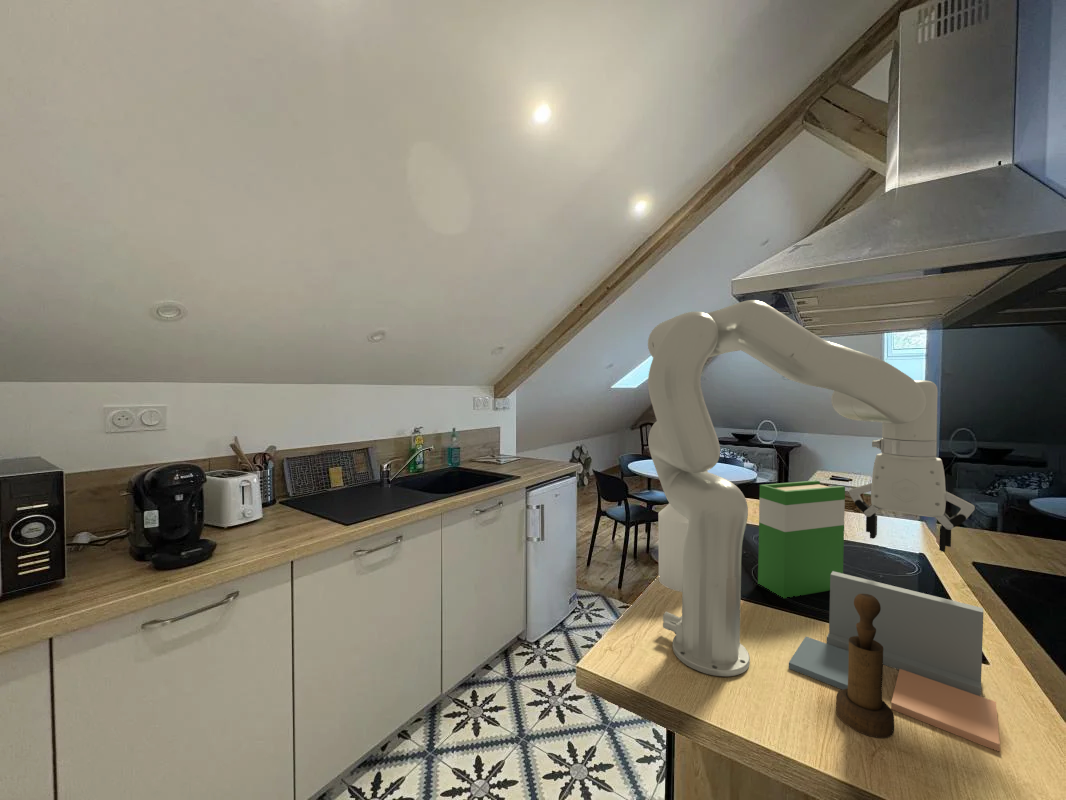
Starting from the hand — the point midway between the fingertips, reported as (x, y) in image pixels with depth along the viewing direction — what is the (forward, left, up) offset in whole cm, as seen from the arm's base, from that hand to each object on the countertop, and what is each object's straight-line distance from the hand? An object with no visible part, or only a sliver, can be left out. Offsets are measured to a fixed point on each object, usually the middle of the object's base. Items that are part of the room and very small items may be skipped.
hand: (906, 542), depth 81 cm
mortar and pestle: (-2, -27, -19) cm, 34 cm away
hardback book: (-20, +15, -19) cm, 31 cm away
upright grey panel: (0, -6, -19) cm, 20 cm away
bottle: (-41, -3, -19) cm, 45 cm away
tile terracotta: (+6, -16, -19) cm, 26 cm away
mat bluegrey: (-8, -16, -19) cm, 26 cm away
